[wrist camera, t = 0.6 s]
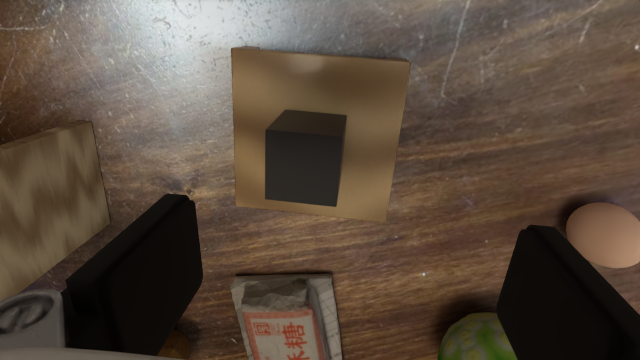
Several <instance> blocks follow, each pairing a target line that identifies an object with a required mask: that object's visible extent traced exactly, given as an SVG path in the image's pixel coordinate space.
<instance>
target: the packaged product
mask: <svg viewBox="0 0 640 360" xmlns="http://www.w3.org/2000/svg"><path fill="white" fill-rule="evenodd" d="M229 289H230V291H231V293H232V299H233V301H234V306H235V310H236V313H237V317H238V321H239V325H240V327H241V332H242V336H243V339H244V345H245V348H246V350H247V356H248V359H249V360H343V359H342V352H341V340H340V327H339V323H338V320H337V311H336V302H335V297H334V292H333V287H332V276H331V274H288V275H256V276H235V278H234V280H233V282H232V284H231V286H230V288H229Z"/></svg>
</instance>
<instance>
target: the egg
mask: <svg viewBox="0 0 640 360" xmlns="http://www.w3.org/2000/svg"><path fill="white" fill-rule="evenodd" d="M566 233H567V238H568V240H569V242H570V243H571V244H572V245H573V246H574V248H575V249H576V250H577V251H578V252H579V253H580V254H581V255H582V256H583V257H584V258H585V259H587V260H589V261H591V262H593V263H595V264H598V265H601V266H605V267H610V268H626V267H629V266H633V265H635V264H637V263H638V262H640V221H639V220H638V219H637V218H636V217H635V216H634V215H633V214H631V213H630V212H628V211H627V210H625V209H624V208H621V207H619V206H617V205H614V204H610V203H602V202H601V203H591V204H587V205H584V206H582V207H579V208H578V209H576V210H575V211H574V212H573V213H572V214H571V215H570V217H569V219H568V221H567V225H566Z"/></svg>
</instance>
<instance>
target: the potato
mask: <svg viewBox="0 0 640 360" xmlns="http://www.w3.org/2000/svg"><path fill="white" fill-rule="evenodd" d="M191 349H192V348H191V345H190V341H189V338H188V337H187V336H186V335H185V334H184V333H183V332H181V331H178V330H175V329H173V331H172V332H171V334H170V336H169V337H168V339H167V340H166V342H165V344H164V345H163V347H162V349H161V350H160V352H159V353H158V355H157V356H158V357H167V358H176V359H184V360H189V358H190V354H191Z"/></svg>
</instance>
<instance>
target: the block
mask: <svg viewBox="0 0 640 360" xmlns="http://www.w3.org/2000/svg"><path fill="white" fill-rule="evenodd" d="M346 122H347V115H341V114H330V113H319V112H308V111H297V110H284V111H283V112H282V113H281V114H280V115H279V116H278V117H277V118H276V119H275V120H274V121H273V123H272V124H271V125H270V126H269V127H268V128H267V129H266V130H265V199H267V200H276V201H285V202H294V203H303V204H312V205H321V206H330V207H336V206H337V200H338V193H339V186H340V180H341V173H342V162H343V152H344V142H345V132H346Z"/></svg>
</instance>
